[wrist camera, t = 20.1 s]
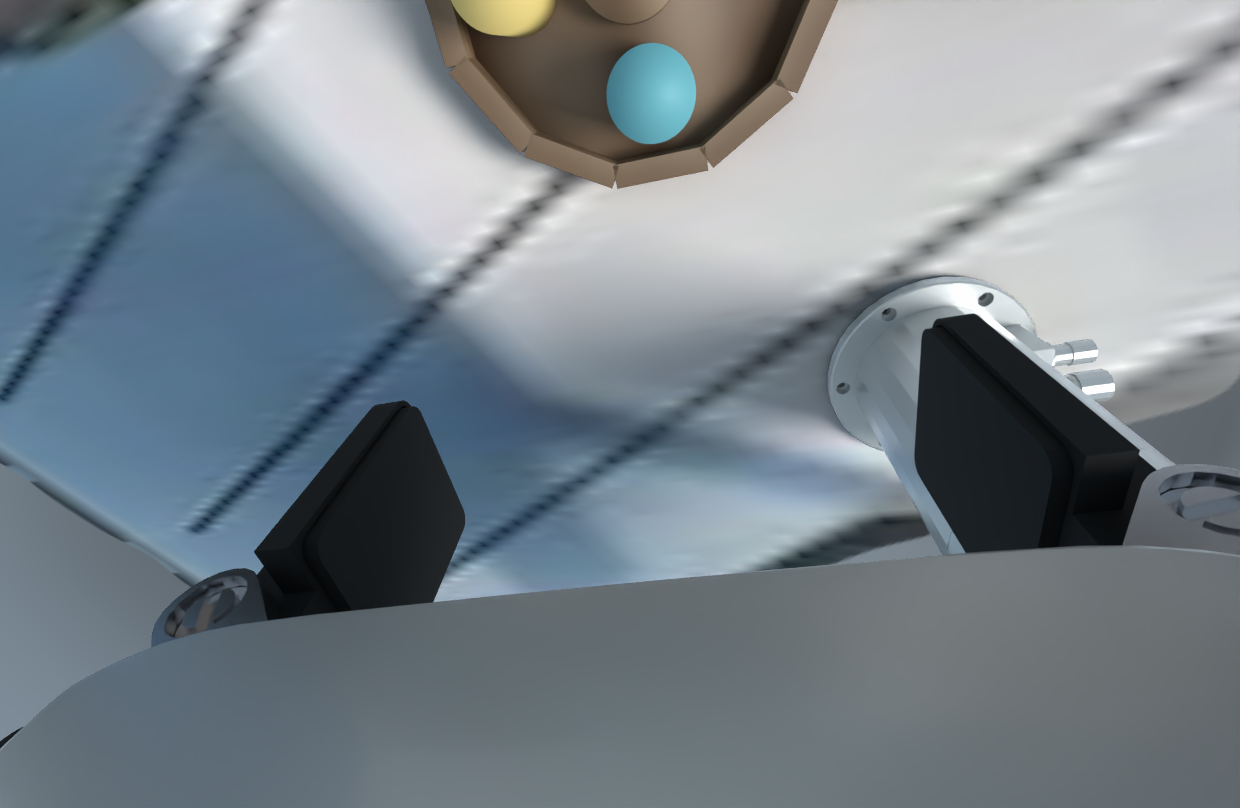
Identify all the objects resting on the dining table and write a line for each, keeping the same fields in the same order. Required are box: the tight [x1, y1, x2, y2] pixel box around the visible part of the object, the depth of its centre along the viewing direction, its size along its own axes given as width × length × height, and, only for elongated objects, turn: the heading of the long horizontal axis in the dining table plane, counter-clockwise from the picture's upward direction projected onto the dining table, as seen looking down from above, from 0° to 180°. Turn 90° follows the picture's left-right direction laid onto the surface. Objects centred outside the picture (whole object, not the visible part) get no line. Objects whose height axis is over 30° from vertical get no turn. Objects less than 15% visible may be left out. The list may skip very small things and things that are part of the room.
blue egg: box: [607, 43, 696, 144], centre depth 28 cm, size 4×4×5 cm
